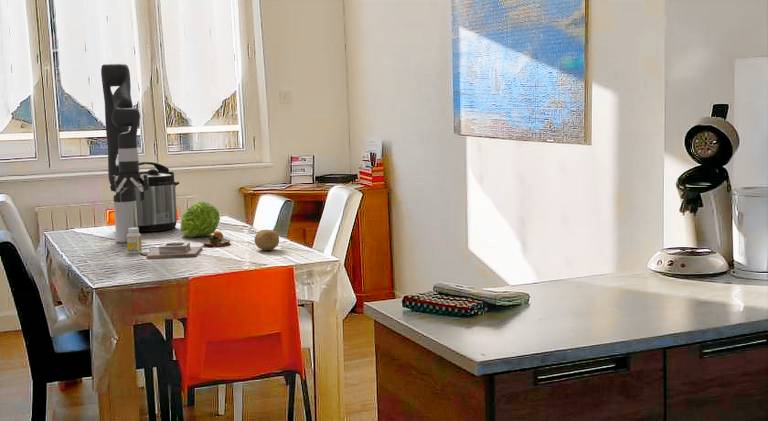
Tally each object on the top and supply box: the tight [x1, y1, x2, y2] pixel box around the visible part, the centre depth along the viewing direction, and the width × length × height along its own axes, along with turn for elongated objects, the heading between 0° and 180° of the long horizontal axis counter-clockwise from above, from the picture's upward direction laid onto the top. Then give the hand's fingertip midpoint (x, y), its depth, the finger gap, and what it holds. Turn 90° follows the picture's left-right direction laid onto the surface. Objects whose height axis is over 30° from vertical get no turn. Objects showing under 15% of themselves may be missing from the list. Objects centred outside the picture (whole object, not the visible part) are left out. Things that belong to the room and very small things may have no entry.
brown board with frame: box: [146, 241, 203, 260], centre depth 346 cm, size 18×18×4 cm
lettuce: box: [180, 201, 221, 238], centre depth 395 cm, size 15×25×16 cm
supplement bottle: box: [126, 228, 142, 254], centre depth 352 cm, size 5×5×10 cm
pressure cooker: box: [109, 161, 180, 232], centre depth 420 cm, size 30×28×32 cm
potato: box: [254, 229, 280, 251], centre depth 349 cm, size 10×14×8 cm
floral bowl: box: [201, 230, 231, 248], centre depth 366 cm, size 12×12×8 cm
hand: (131, 201), depth 351 cm, fingers open, 8 cm apart
